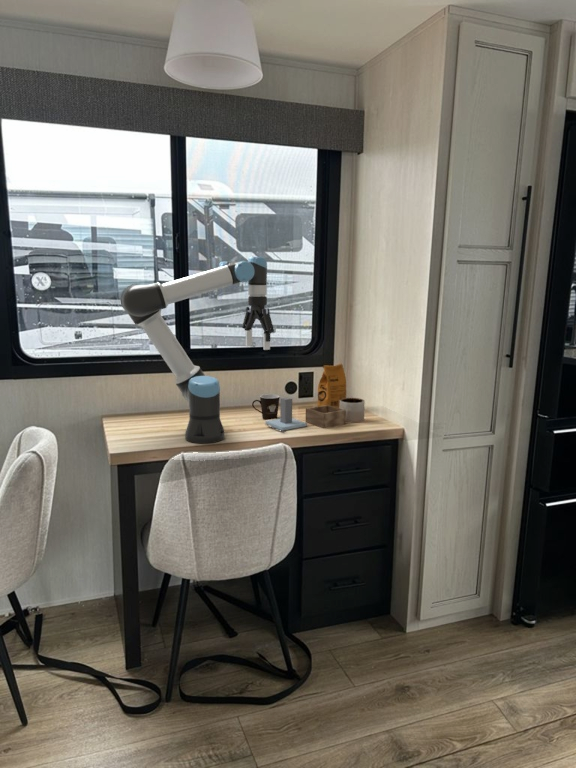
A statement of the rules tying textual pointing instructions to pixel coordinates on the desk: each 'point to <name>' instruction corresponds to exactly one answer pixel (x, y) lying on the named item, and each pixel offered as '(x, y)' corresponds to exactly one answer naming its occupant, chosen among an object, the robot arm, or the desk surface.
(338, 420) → the crate
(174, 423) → the desk surface
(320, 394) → the coffee package
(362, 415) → the planter
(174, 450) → the desk surface
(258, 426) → the desk surface
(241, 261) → the robot arm
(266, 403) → the coffee mug
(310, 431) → the desk surface
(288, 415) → the lid
